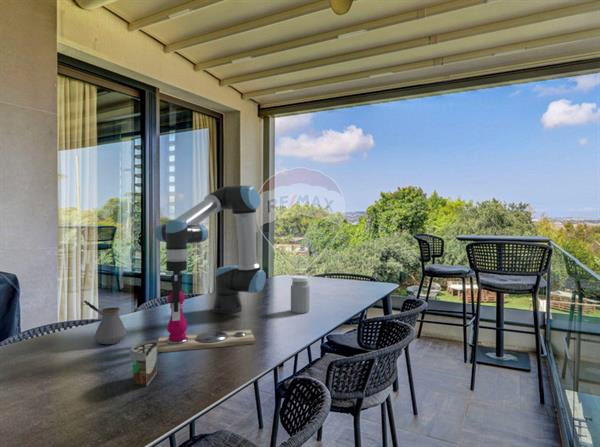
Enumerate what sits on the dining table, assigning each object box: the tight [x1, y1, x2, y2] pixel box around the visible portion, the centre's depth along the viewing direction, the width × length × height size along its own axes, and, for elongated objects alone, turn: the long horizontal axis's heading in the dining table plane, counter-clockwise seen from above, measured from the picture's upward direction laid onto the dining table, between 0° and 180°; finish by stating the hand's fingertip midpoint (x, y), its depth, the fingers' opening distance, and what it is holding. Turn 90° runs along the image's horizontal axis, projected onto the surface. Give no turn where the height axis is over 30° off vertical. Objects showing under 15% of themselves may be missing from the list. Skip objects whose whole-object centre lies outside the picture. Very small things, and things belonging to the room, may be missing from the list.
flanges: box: [196, 331, 246, 343], centre depth 147 cm, size 12×19×1 cm, turn 106°
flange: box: [166, 337, 188, 344], centre depth 142 cm, size 8×8×1 cm
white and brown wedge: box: [129, 339, 158, 387], centre depth 112 cm, size 12×6×10 cm, turn 5°
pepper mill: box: [166, 290, 188, 342], centre depth 142 cm, size 7×7×20 cm
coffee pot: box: [81, 300, 128, 345], centre depth 147 cm, size 21×12×15 cm, turn 66°
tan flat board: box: [157, 328, 256, 354], centre depth 145 cm, size 14×36×2 cm, turn 106°
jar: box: [290, 275, 311, 314], centre depth 192 cm, size 10×10×18 cm
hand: (177, 315), depth 142 cm, fingers open, 13 cm apart
